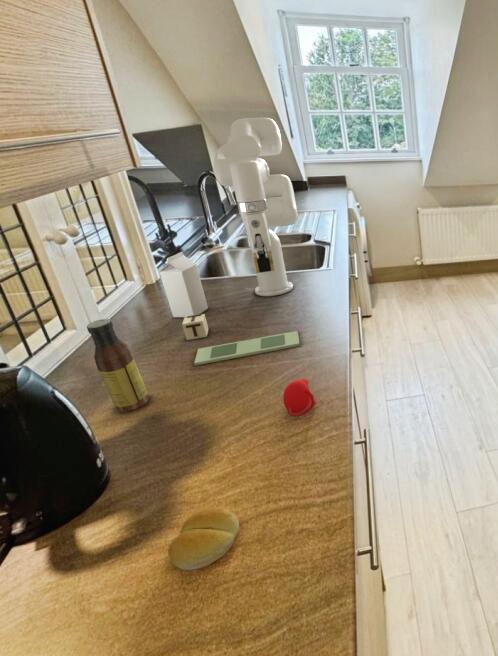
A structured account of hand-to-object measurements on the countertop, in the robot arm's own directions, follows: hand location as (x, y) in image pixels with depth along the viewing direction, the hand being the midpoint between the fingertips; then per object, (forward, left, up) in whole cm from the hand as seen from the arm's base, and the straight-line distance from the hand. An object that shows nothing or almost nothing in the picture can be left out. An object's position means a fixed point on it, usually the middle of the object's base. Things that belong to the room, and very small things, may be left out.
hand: (265, 268), depth 133 cm
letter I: (0, 0, -1) cm, 1 cm away
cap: (+54, +4, -15) cm, 56 cm away
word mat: (+21, -7, -15) cm, 27 cm away
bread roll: (+82, -11, -15) cm, 84 cm away
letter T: (+6, -21, -15) cm, 26 cm away
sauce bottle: (+38, -30, -15) cm, 50 cm away
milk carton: (-12, -25, -15) cm, 31 cm away
